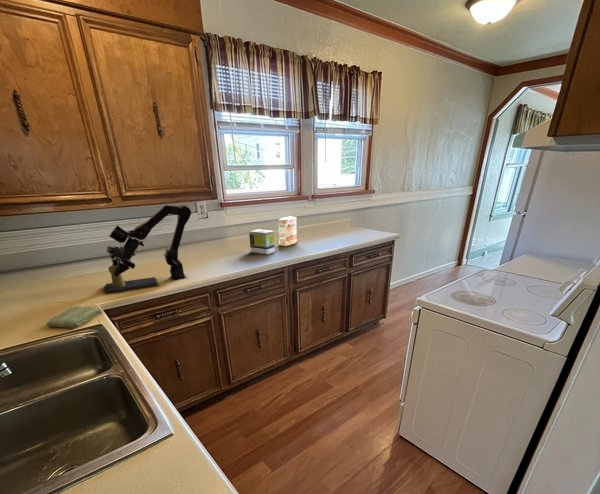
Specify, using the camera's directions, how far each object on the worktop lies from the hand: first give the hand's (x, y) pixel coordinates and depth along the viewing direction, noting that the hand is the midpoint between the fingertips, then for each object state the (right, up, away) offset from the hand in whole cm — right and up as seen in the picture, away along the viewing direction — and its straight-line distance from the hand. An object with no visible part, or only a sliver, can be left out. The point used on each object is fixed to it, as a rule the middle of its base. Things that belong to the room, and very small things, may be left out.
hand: (113, 274), depth 164 cm
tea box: (+68, +29, +69) cm, 101 cm away
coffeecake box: (+85, +41, +92) cm, 132 cm away
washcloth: (+2, -24, -29) cm, 38 cm away
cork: (+1, -6, +4) cm, 7 cm away
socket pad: (+6, -5, +7) cm, 10 cm away
